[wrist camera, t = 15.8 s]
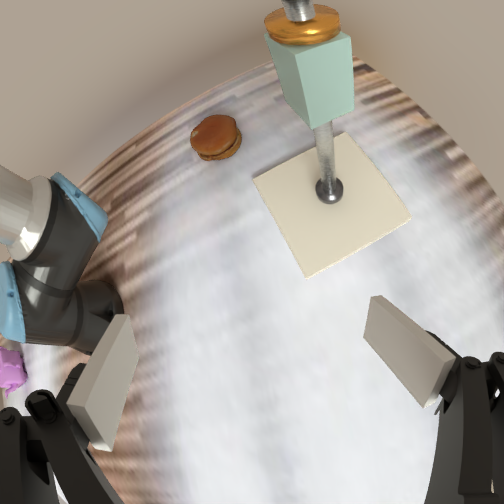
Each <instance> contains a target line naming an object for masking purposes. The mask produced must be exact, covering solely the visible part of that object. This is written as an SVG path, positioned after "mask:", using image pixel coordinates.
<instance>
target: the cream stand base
mask: <svg viewBox="0 0 504 504" xmlns="http://www.w3.org/2000/svg"><path fill="white" fill-rule="evenodd" d="M333 139H334V152H335V168H336V177H337V178H338V179H339V180H340V181H341V182H342V184H343V197H342V198H341V200H340V201H339V202H337V203H335V204H325V203H323V202H321V201H320V200H319V199H318V197H317V195H316V190H315V186H316V183H317V181H318V180H319V179H320V178H321V175H320V168H319V161H318V155H317V149H316V146H315V147H313V148H311V149H309V150H307V151H305V152H303V153H301V154H299V155H297V156H295V157H293V158H292V159H290V160H288V161H286V162H284V163H282V164H280V165H278V166H276V167H274V168H273V169H271V170H269V171H267V172H265V173H263V174H261V175H260V176H258V177H256V178H254V179H252V180H253V182H254V184H255V186H256V188H257V189H258V191H259V193H260V195H261V196H262V198H263V200H264V202H265V204H266V205H267V207H268V209H269V211H270V213H271V215H272V216H273V218H274V220H275V222H276V224H277V226H278V227H279V229H280V231H281V233H282V235H283V237H284V238H285V240H286V242H287V244H288V246H289V248H290V250H291V252H292V253H293V255H294V257H295V259H296V261H297V263H298V265H299V267H300V269H301V271H302V272H303V274H304V276H305V278H306V280H307V279H309V278H311V277H313V276H315V275H317V274H319V273H320V272H322V271H324V270H326V269H328V268H330V267H331V266H333V265H335V264H337V263H339V262H340V261H342V260H344V259H346V258H347V257H349V256H351V255H353V254H355V253H356V252H358V251H360V250H362V249H363V248H365V247H367V246H368V245H370V244H372V243H374V242H375V241H377V240H379V239H380V238H382V237H384V236H385V235H387V234H389V233H390V232H392V231H394V230H395V229H397V228H399V227H400V226H402V225H404V224H405V223H407V222H409V221H410V220H411V218H412V216H411V214H410V213H409V211H408V210H407V208H406V207H405V206H404V204H403V203H402V201H401V200H400V198H399V197H398V196H397V194H396V193H395V191H394V190H393V189H392V187H391V186H390V185H389V183H388V182H387V181H386V179H385V178H384V177H383V175H382V174H381V173H380V172H379V170H378V169H377V168H376V167H375V165H374V164H373V163H372V162H371V160H370V159H369V158H368V157H367V155H366V154H365V153H364V152H363V151H362V150H361V148H360V147H359V146H358V145H357V144H356V143H355V141H354V140H353V139H352V138H351V137H350V136H349V135H348V133H347V132H344V133H342V134H340V135H338V136H336V137H334V138H333Z"/></svg>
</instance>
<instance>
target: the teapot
mask: <svg viewBox="0 0 504 504" xmlns="http://www.w3.org/2000/svg"><path fill="white" fill-rule="evenodd" d="M22 364H23V358H22V357H21V358H20V353H19V351H9V350H7V349H6V348H3V347H1V346H0V387H6V388H9V389H7V390H6V391H5V395H6V398H7V396H8V394H9V393H10V392H13V391H15V390H16V389H17V388H19V387H20V386H21V385H23V384H24V383H25V382H26V379H27V373H26V372H24V371H23V367H22Z"/></svg>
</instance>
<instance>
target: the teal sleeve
mask: <svg viewBox="0 0 504 504" xmlns="http://www.w3.org/2000/svg"><path fill="white" fill-rule="evenodd" d="M264 36H265V39H266V42H267V45H268V47H269V50H270V53H271V56H272V59H273V62H274V65H275V68H276V71H277V74H278V77H279V81H280V84H281V87H282V90H283V94H284V97H285V100H286V102H287V103H288V104H289V105H290V106H291V107H292V109H293V110H294V111H295V112H296V113H297V114H298V115H299V116H300V117H301V118H302V120H303V121H304V122H305V123H306V124H307V125H308V126H309V128H310V129H311V130H312V129H314V128H316V127H318V126H320V125H322V124H325V123H327V122H329V121H331V120H333V119H335V118H338V117H340V116H342V115H344V114H347V113H349V112H351V111H354V80H353V62H352V49H351V38H350V36H348V35H347V34H345V33H343V32H341V31H340V33H339V34H338V35H337V36H336V37H334V38H332V39H330V40H327V41H324V42H321V43H316V44H308V45H300V46H299V45H288V44H282V43H278V42H276V41H274V40H272V39H271V38H270V37H269V34H268V33H265V34H264Z"/></svg>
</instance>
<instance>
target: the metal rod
mask: <svg viewBox="0 0 504 504" xmlns="http://www.w3.org/2000/svg"><path fill="white" fill-rule="evenodd" d="M282 3H283V6H284V7H283V8H280V9H278V10H275V11H274V12H272V13H270V14H269V15H268V16H267V17H266V18H265V20H264V23H265V26H266V29H267V31H268V34H269V37H270V38H271V39H272V40H274V41H276V42H278V43H282V44H288V45H299V46H300V45H308V44H316V43H321V42H324V41H327V40H330V39H332V38H334V37H336V36H337V35H338V34H339V33H340V31H341V27H340V20H339V14H338V12H337V11H336V10H334V9H332V8H330V7H327V6H323V5H318V4H313V2H312V0H282ZM313 131H314V137H315V143H316V149H317V155H318V161H319V168H320V175H321V178H320V179H319V180H318V181H317V183H316V186H315V190H316V195H317V197H318V199H319V200H320V201H321V202H323V203H325V204H335V203H337V202H339V201H340V200H341V198H342V197H343V184H342V182H341V181H340V180H339V179H338V178H337V177H336V168H335V152H334V139H333V127H332V120H331V121H329V122H327V123H325V124H322V125H320V126H318V127H316V128H314V129H313Z"/></svg>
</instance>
